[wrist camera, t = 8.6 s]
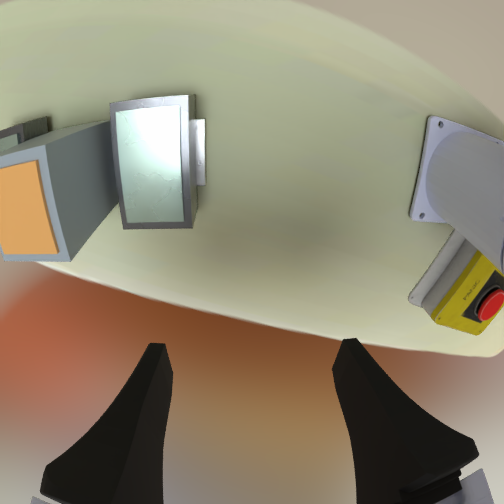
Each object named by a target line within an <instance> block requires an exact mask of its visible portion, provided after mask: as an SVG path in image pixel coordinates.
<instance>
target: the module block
mask: <svg viewBox="0 0 504 504" xmlns="http://www.w3.org/2000/svg"><path fill="white" fill-rule="evenodd" d="M118 202H119V199H118V192H117V185H116V177H115V169H114V159H113V149H112V137H111V122H110V120H103V121H97V122H92V123H86V124H81V125H76V126H71V127H66V128H61V129H57V130H54V131H51V132H48V133H46V134H43V135H40V136H38V137H35V138H33V139H30V140H28V141H25V142H23V143H20V144H18V145H16V146H13V147H11V148H9V149H7V150H4V151H2V152H0V251H1V254H2V256H3V259H4V261H56V262H71V261H72V259H73V258H74V257H75V255H76V254H77V253H78V251H79V250H80V249H81V248H82V246H83V245H84V244H85V242H86V241H87V240H88V239H89V237H90V236H91V235H92V233H93V232H94V231H95V230H96V229H97V227H98V226H99V225H100V224H101V222H102V221H103V220H104V219H105V218H106V216H107V215H108V214H109V213H110V212H111V211H112V209H113V208H114V207H115V206H116V205H117V204H118Z"/></svg>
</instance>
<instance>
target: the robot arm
mask: <svg viewBox="0 0 504 504" xmlns="http://www.w3.org/2000/svg"><path fill="white" fill-rule="evenodd" d="M439 121H440V126H438V123H439ZM421 213H422V215H421V216H419V215H420V214H421ZM410 218H411V219H412V220H413V221H421V222H436V223H448V224H450V225H451V226H452V227H453V228H454V229H455V230H457V231H458V232H459V233H460V234H461V235H462V236H464V237H465V238H466V239H467V240H468V241H469V242H470V243H471V244H472V245H474V246H475V247H476V248H477V249H478V250H479V251H480V252H481V253H482V254H483V255H484V256H485V257H486V258H487V259H488V260H489V261H490V262H491V263H492V264H493V265H494V266H495V267H496V268H497V269H498V270H499V271H500V272H501V273H502V274H503V275H504V142H503V141H501V140H499V139H497V138H494V137H492V136H490V135H487V134H485V133H482V132H480V131H477V130H475V129H472V128H469V127H467V126H464V125H461V124H458V123H456V122H453V121H450V120H447V119H444V118H440V117H437V116H433V115H432V116H430V117H429V118H428V122H427V129H426V136H425V142H424V148H423V154H422V160H421V165H420V170H419V175H418V180H417V184H416V189H415V193H414V198H413V202H412V206H411V210H410ZM332 371H333V377H334V383H335V388H336V392H337V395H338V399H339V402H340V405H341V408H342V412H343V415H344V418H345V422H346V425H347V428H348V431H349V436H350V440H351V446H352V452H353V459H354V468H355V478H356V496H357V504H494V502H493V499H492V496H491V492H490V489H489V486H488V483H487V480H486V477H485V474H484V472H483V469H479V470H477V471H476V472H474V473H473V474H471V475H469V476H467V477H466V478H464V479H462V480H461V481H460V480H459V476H461V471H460V469H461V468H462V467H464V466H465V465H467V464H469V463H470V462H472V461H473V460H474V459H476V458H477V457H478V456H479V452H478V450H477V447H476V445H475V442H474V440H473V439H472V438H470V437H467V436H465V435H463V434H461V433H459V432H457V431H455V430H453V429H451V428H450V427H448V426H447V425H445V424H443V423H442V422H440V421H439V420H437V419H436V418H434V417H433V416H432V415H430V414H429V413H427V412H426V411H425V410H424V409H422V408H421V407H420V406H419V405H417V404H416V403H415V402H414V401H413V400H412V399H410V398H409V397H408V396H407V395H406V394H405V393H404V392H403V391H402V390H401V389H400V388H399V387H398V386H397V385H396V384H395V383H394V382H393V380H391V378H390V377H389V376H388V375H387V374H386V373H385V372H384V370H383V369H382V368H381V367H380V366H379V365H378V364H377V362H376V361H375V360H374V359H373V357H371V355H370V354H369V353H368V351H367V350H366V349H365V348H364V347H363V345H362V344H361V343H360V342H359V341H358V339H357V338H351V339H343V341H342V344H341V346H340V349H339V352H338V354H337V357H336V360H335V362H334V365H333V368H332ZM172 383H173V371H172V368H171V364H170V360H169V357H168V353H167V349H166V345H165V344H163V343H150V344H149V345H148V346H147V348H146V350H145V352H144V354H143V356H142V358H141V359H140V361H139V363H138V364H137V366H136V368H135V369H134V371H133V373H132V374H131V376H130V378H129V379H128V381H127V382H126V384H125V385H124V387H123V388H122V390H121V391H120V393H119V394H118V395H117V397H116V398H115V400H114V401H113V402H112V404H111V405H110V406H109V408H108V409H107V410H106V411H105V413H104V414H103V415H102V416H101V417H100V419H99V420H98V421H97V422H96V423H95V424H94V425H93V426H92V427H91V428H90V430H89V431H88V432H87V433H86V434H85V435H84V436H83V437H81V438H80V439H79V440H78V441H77V442H76V443H75V444H74V445H73V446H72V447H70V448H69V449H68V450H67V451H66V452H64V453H63V454H62V455H60V456H59V457H58V458H56V459H55V460H54V461H52V462H51V463H49V464H48V465H47V466H46V468H45V471H44V474H43V478H42V483H41V488H40V493H41V494H42V495H44V496H46V497H48V498H50V499H53V500H55V501H57V502H59V503H62V504H163V446H164V437H165V431H166V425H167V419H168V413H169V408H170V402H171V396H172ZM31 504H50V503H47V502H45V501H42V500H40V499H38V498H36V497H32V500H31Z"/></svg>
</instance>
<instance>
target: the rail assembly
mask: <svg viewBox="0 0 504 504" xmlns="http://www.w3.org/2000/svg"><path fill="white" fill-rule="evenodd" d="M110 122H111V137H112V149H113V159H114V169H115V177H116V185H117V192H118V199H119V206H120V212H121V219H122V224H123V229H178V228H193V224H194V221H195V217H196V213H197V209H198V204H197V186H205V184H206V160H205V119H195V94H194V95H176V96H163V97H152V98H143V99H134V100H127V101H120V102H114V103H110ZM46 133H48V128H47V116H46V117H42V118H39V119H35V120H32V121H28V122H25V123H22V124H19V125H16V126H13V127H10V128H7V129H4V130H1V131H0V152H2V151H4V150H7V149H9V148H11V147H13V146H16V145H18V144H20V143H23V142H25V141H28V140H30V139H33V138H35V137H38V136H40V135H43V134H46Z"/></svg>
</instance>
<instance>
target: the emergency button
mask: <svg viewBox="0 0 504 504" xmlns="http://www.w3.org/2000/svg"><path fill="white" fill-rule="evenodd" d="M408 301H409V302H410V303H411V304H413V305H416V306H419V307H422V308H424V309H425V311H426V312H427V313H428V314H429V315H430V317H431V318H432V320H433V321H434V322H435V323H436V324H439V325H443V326H446V327H449V328H452V329H456V330H459V331H462V332H466V333H469V334H473V335H479V334H481V333H482V332H483V331H484V330H485V328H486V327H487V326H488V325H489V324H490V322H491V321H492V320H493V319H494V317H495V316H496V315H497V314H498V312H499V311H500V310H501V308H502V307H503V306H504V275H503V274H502V273H501V272H500V271H499V270H498V269H497V268H496V267H495V266H494V265H493V264H492V263H491V262H490V261H489V260H488V259H487V258H486V257H485V256H484V255H483V254H482V253H481V252H480V251H479V250H478V249H477V248H476V247H475V246H474V245H472V244H471V243H470V242H469V241H468V240H467V239H466V238H465V237H464V236H462V235H461V234H460V233H459V232H458V231H457V230H455V229H454V230H453V232H452V233H451V235H450V236H449V238H448V239H447V241H446V243H445V244H444V246H443V247H442V249H441V250H440V252H439V253H438V255H437V256H436V258H435V259H434V260H433V262H432V263H431V265H430V266H429V268H428V269H427V270H426V272H425V273H424V275H423V276H422V277H421V279H420V280H419V281H418V283H417V284H416V285H415V287H414V288H413V289H412V291H411V292H410V294H409V296H408Z"/></svg>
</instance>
